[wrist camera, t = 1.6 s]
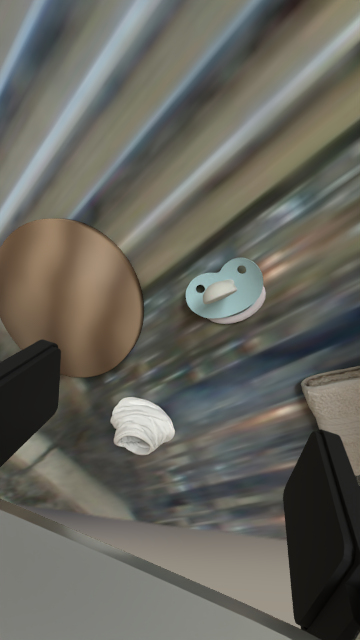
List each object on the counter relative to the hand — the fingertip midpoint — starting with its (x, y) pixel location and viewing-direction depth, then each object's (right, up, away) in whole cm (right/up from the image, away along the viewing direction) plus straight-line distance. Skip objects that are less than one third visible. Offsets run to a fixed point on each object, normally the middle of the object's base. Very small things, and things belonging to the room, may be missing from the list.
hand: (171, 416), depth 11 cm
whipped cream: (-4, -9, +27) cm, 29 cm away
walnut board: (-12, +6, +23) cm, 27 cm away
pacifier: (+5, +6, +19) cm, 21 cm away
